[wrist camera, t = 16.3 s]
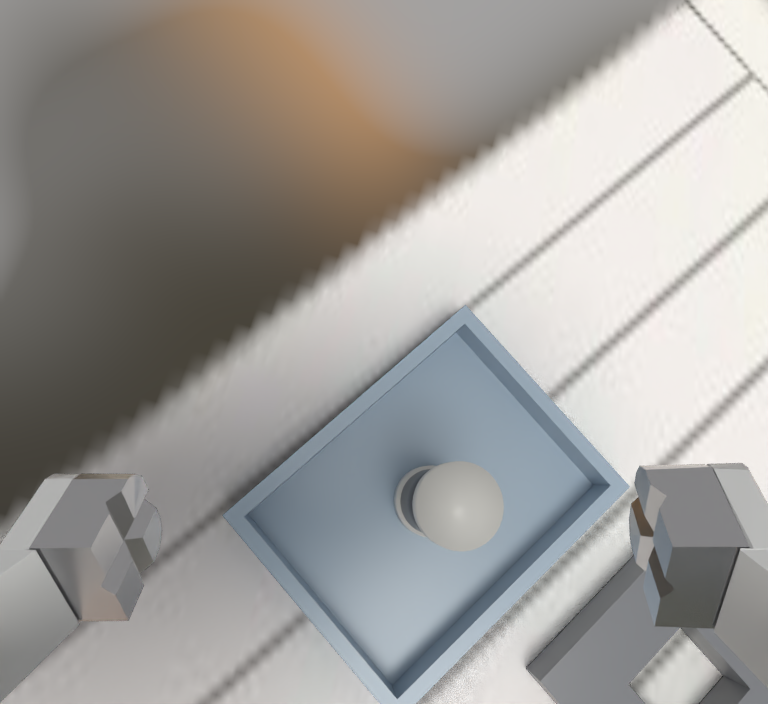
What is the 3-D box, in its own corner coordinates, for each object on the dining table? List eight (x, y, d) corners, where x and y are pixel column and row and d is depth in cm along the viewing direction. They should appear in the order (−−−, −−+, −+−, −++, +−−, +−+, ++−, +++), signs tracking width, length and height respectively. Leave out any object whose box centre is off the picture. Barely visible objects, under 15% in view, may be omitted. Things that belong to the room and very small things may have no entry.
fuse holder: (670, 835, 37) (695, 860, 35) (525, 668, 38) (540, 681, 36) (801, 678, 40) (833, 691, 37) (663, 524, 40) (685, 527, 38)
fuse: (424, 550, 38) (458, 570, 29) (379, 497, 39) (399, 501, 30) (474, 503, 39) (521, 509, 30) (430, 452, 39) (463, 442, 31)
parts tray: (389, 704, 37) (396, 723, 34) (229, 512, 38) (222, 515, 35) (607, 486, 41) (629, 486, 38) (455, 317, 42) (465, 304, 39)
